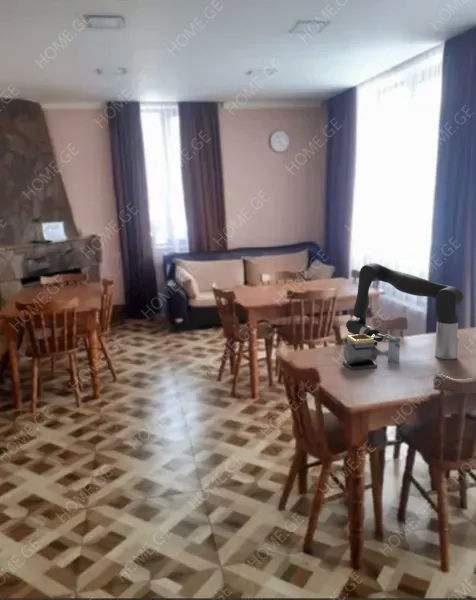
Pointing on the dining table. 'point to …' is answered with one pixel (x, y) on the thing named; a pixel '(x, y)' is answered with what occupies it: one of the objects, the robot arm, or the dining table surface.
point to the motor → (360, 352)
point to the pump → (393, 349)
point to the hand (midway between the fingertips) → (384, 343)
